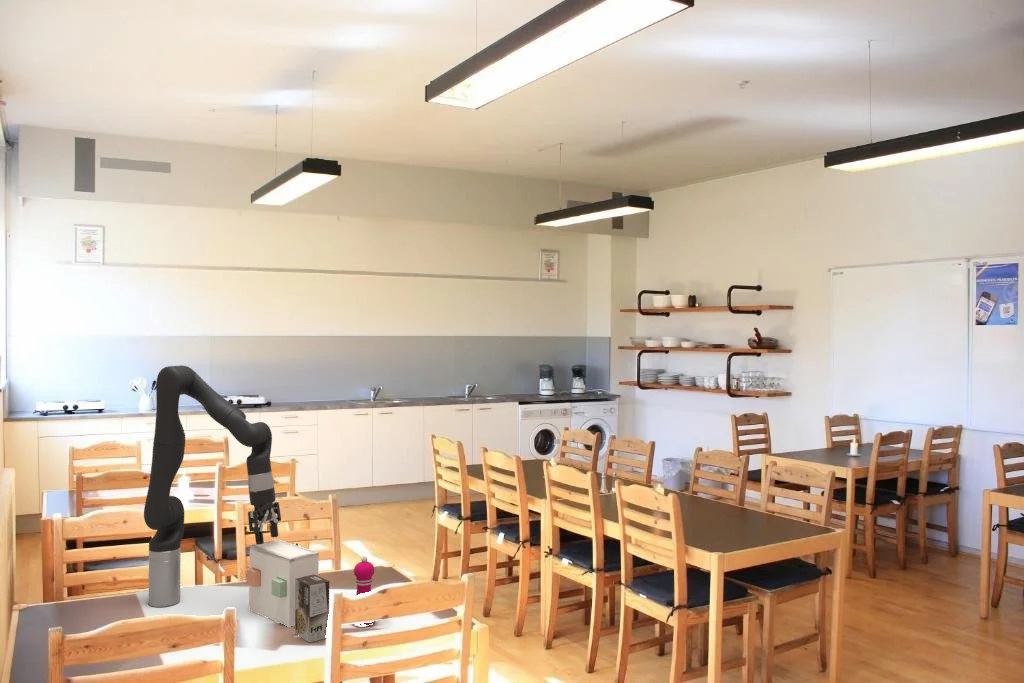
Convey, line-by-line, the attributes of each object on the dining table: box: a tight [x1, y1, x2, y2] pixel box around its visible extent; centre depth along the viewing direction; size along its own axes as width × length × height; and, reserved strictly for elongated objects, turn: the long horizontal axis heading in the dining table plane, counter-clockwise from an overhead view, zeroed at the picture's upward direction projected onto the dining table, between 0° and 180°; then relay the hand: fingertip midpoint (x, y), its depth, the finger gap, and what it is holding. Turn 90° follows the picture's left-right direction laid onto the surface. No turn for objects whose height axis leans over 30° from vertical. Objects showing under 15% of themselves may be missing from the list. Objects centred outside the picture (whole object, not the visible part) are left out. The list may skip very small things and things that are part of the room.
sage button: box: [272, 578, 287, 598], centre depth 240 cm, size 4×4×4 cm
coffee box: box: [294, 574, 331, 643], centre depth 232 cm, size 9×6×16 cm
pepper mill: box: [353, 556, 375, 625], centre depth 242 cm, size 7×7×20 cm
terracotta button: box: [246, 568, 261, 587], centre depth 250 cm, size 4×4×4 cm
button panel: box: [248, 539, 320, 628], centre depth 249 cm, size 22×10×20 cm, turn 48°
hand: (267, 540), depth 250 cm, fingers open, 8 cm apart
